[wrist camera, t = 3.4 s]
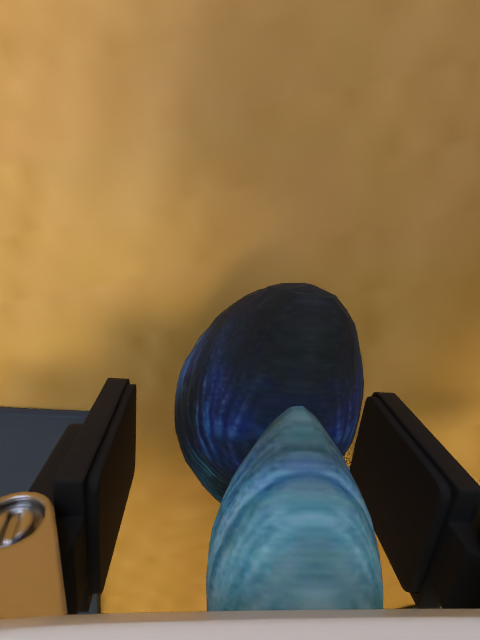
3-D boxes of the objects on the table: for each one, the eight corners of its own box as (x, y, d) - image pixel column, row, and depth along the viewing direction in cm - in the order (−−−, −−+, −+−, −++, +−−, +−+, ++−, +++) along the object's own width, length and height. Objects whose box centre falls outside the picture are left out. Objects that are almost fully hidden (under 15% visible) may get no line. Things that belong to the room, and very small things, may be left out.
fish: (173, 505, 14) (104, 1109, 5) (190, 238, 11) (84, 501, 2) (284, 508, 15) (416, 1066, 5) (331, 252, 12) (860, 519, 2)
